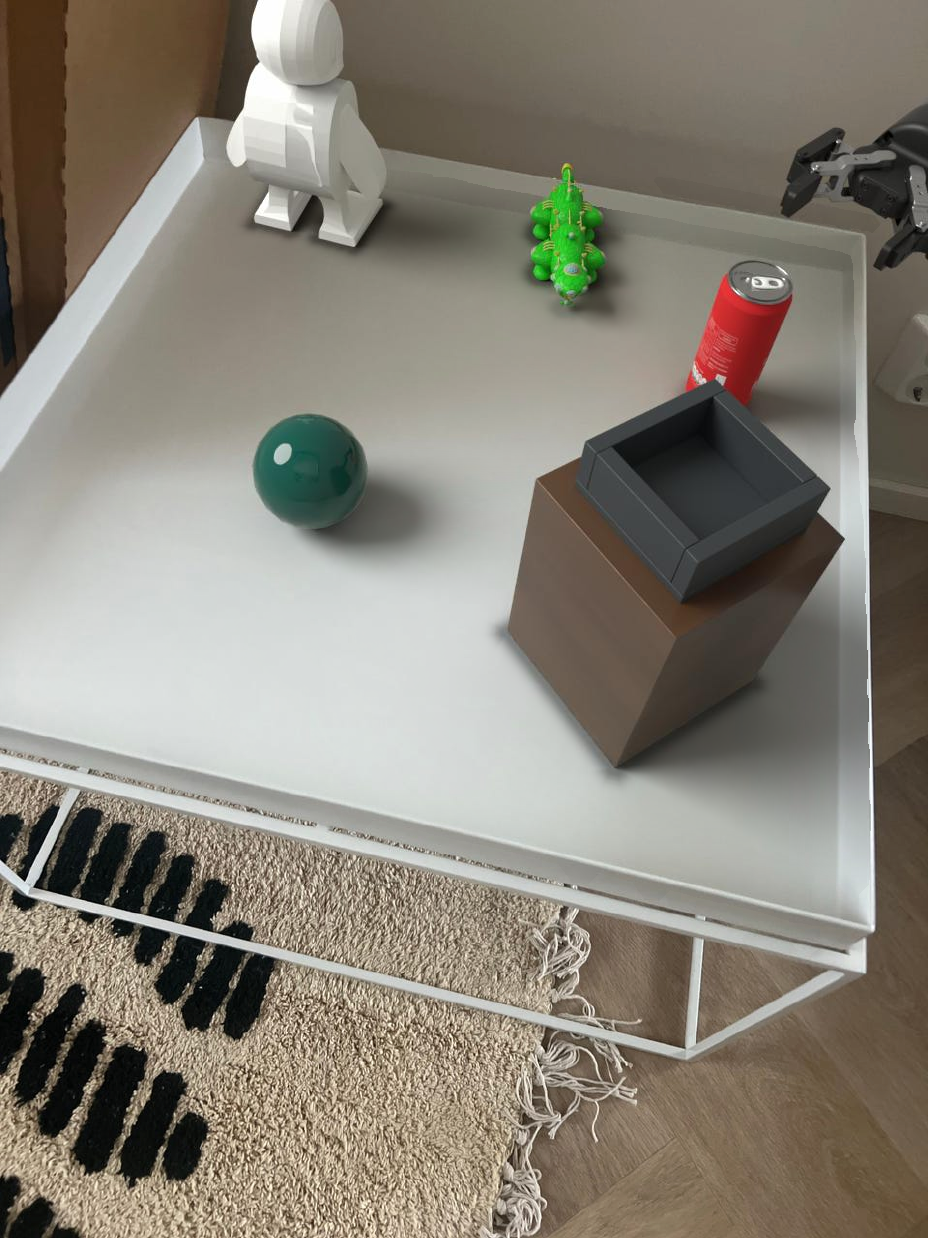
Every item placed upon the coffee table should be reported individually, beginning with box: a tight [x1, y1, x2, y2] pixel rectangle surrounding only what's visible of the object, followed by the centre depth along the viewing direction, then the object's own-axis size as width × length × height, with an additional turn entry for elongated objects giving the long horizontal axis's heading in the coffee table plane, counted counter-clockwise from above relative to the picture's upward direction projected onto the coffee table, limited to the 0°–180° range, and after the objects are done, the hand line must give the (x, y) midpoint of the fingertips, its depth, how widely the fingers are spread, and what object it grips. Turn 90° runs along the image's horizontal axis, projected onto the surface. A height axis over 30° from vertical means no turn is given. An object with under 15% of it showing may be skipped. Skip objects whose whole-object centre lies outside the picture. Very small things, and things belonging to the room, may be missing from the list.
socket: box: [574, 379, 831, 604], centre depth 51 cm, size 9×9×4 cm
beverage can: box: [685, 259, 794, 408], centre depth 75 cm, size 5×5×12 cm
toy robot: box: [225, 0, 387, 248], centre depth 80 cm, size 14×9×20 cm, turn 73°
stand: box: [506, 456, 846, 769], centre depth 60 cm, size 12×12×16 cm
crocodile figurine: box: [529, 162, 607, 307], centre depth 87 cm, size 7×18×4 cm, turn 178°
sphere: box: [251, 412, 369, 530], centre depth 68 cm, size 8×8×8 cm
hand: (833, 231), depth 75 cm, fingers open, 8 cm apart
